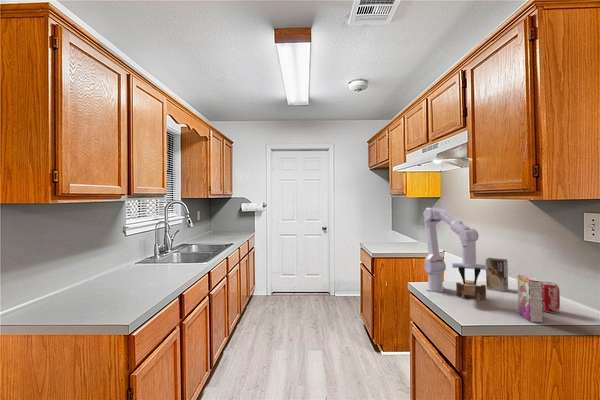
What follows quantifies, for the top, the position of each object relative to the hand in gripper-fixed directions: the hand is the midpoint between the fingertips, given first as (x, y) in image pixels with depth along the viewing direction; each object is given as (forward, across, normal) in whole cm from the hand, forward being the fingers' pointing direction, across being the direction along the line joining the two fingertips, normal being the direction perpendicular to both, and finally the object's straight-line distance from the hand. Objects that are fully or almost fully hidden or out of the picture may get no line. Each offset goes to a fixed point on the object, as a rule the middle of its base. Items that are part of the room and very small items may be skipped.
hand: (469, 284), depth 163 cm
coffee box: (+9, +12, +31) cm, 34 cm away
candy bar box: (+9, +22, -13) cm, 28 cm away
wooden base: (+9, 0, +7) cm, 11 cm away
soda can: (+9, +30, 0) cm, 32 cm away
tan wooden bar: (+4, 0, 0) cm, 4 cm away
